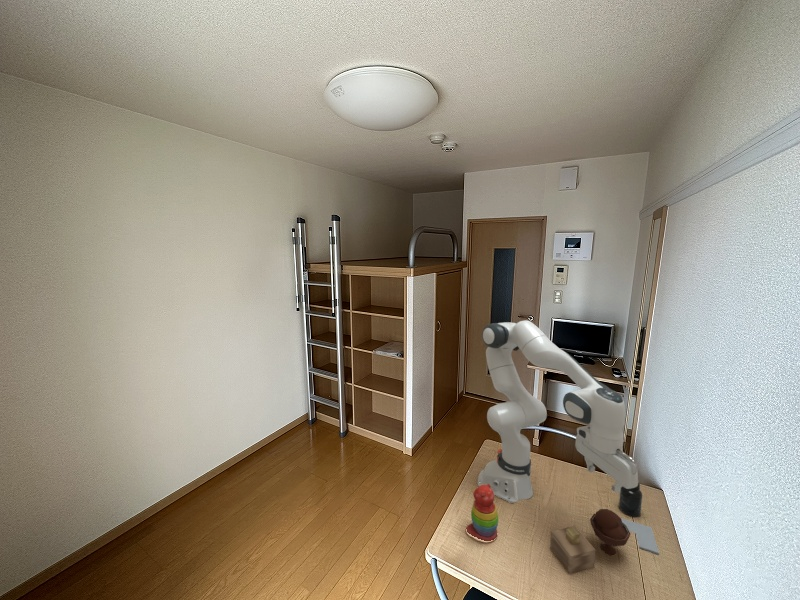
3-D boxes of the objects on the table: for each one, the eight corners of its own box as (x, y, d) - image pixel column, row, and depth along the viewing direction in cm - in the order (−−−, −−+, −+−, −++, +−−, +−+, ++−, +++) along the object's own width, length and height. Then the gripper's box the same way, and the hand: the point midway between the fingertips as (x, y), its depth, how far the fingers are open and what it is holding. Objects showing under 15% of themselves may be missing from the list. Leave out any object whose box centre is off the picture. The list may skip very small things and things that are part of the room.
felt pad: (618, 541, 109) (618, 539, 109) (614, 517, 119) (614, 516, 118) (659, 554, 104) (659, 553, 104) (651, 528, 113) (651, 527, 113)
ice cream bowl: (629, 573, 98) (633, 530, 96) (587, 556, 104) (590, 515, 102) (627, 546, 107) (630, 507, 105) (588, 532, 113) (591, 494, 111)
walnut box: (569, 576, 98) (570, 559, 97) (550, 550, 106) (550, 534, 106) (594, 569, 100) (595, 553, 99) (573, 544, 108) (573, 528, 107)
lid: (570, 559, 97) (571, 547, 96) (550, 534, 106) (551, 522, 105) (595, 553, 99) (596, 540, 98) (573, 528, 107) (574, 517, 107)
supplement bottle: (644, 519, 118) (647, 489, 116) (623, 516, 119) (626, 487, 117) (634, 504, 124) (637, 477, 123) (615, 502, 126) (617, 475, 124)
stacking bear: (479, 514, 122) (479, 472, 119) (503, 530, 114) (504, 486, 112) (463, 532, 114) (463, 488, 111) (488, 550, 107) (489, 503, 104)
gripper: (646, 459, 90) (642, 503, 92) (588, 423, 110) (586, 459, 112) (628, 463, 88) (624, 507, 90) (572, 425, 108) (570, 462, 110)
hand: (602, 480), depth 101 cm, fingers open, 8 cm apart
